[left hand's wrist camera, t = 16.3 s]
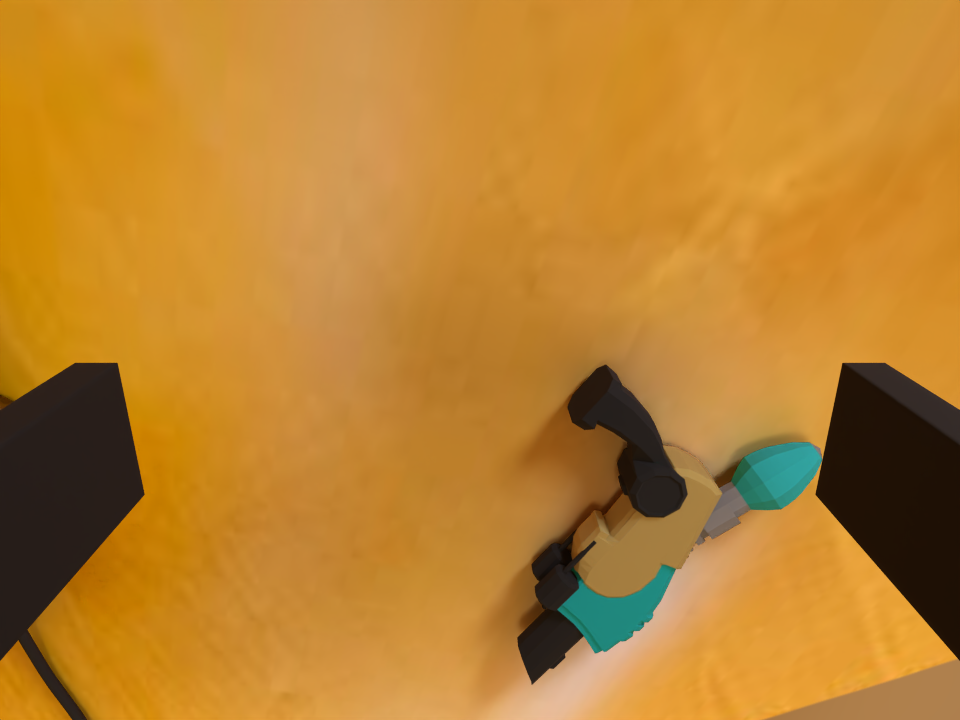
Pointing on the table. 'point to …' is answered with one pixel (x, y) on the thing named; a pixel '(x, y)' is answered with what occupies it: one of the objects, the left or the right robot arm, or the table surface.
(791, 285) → the table surface
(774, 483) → the toy gun
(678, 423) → the table surface
